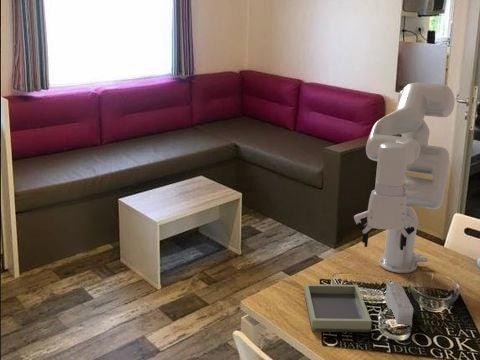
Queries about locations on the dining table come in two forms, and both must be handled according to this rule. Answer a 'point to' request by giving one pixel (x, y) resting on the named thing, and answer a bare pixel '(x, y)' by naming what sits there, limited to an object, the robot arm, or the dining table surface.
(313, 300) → the case
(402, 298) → the bar
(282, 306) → the dining table surface
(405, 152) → the robot arm
